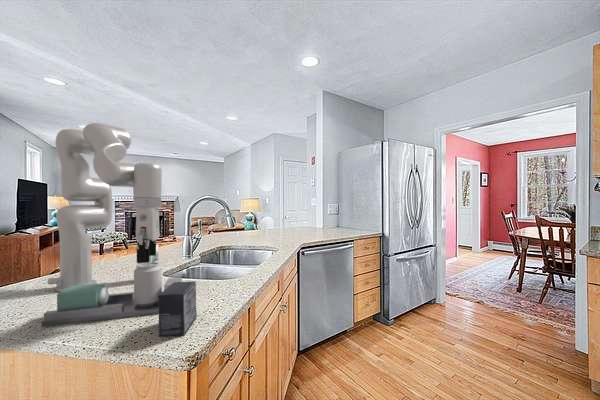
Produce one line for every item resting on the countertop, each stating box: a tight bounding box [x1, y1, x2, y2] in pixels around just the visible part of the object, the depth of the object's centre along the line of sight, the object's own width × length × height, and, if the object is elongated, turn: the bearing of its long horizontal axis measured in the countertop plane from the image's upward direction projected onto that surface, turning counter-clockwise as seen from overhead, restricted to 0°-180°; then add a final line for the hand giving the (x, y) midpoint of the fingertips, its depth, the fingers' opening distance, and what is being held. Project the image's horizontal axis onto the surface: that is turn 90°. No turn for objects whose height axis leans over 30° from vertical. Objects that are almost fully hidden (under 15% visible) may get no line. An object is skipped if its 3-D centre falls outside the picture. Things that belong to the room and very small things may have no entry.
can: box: [133, 262, 163, 306], centre depth 86 cm, size 8×8×12 cm
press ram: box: [56, 282, 109, 310], centre depth 81 cm, size 10×8×6 cm
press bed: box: [41, 276, 183, 328], centre depth 83 cm, size 33×12×8 cm, turn 107°
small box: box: [158, 280, 198, 338], centre depth 73 cm, size 11×6×10 cm, turn 5°
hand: (146, 258), depth 86 cm, fingers open, 9 cm apart
